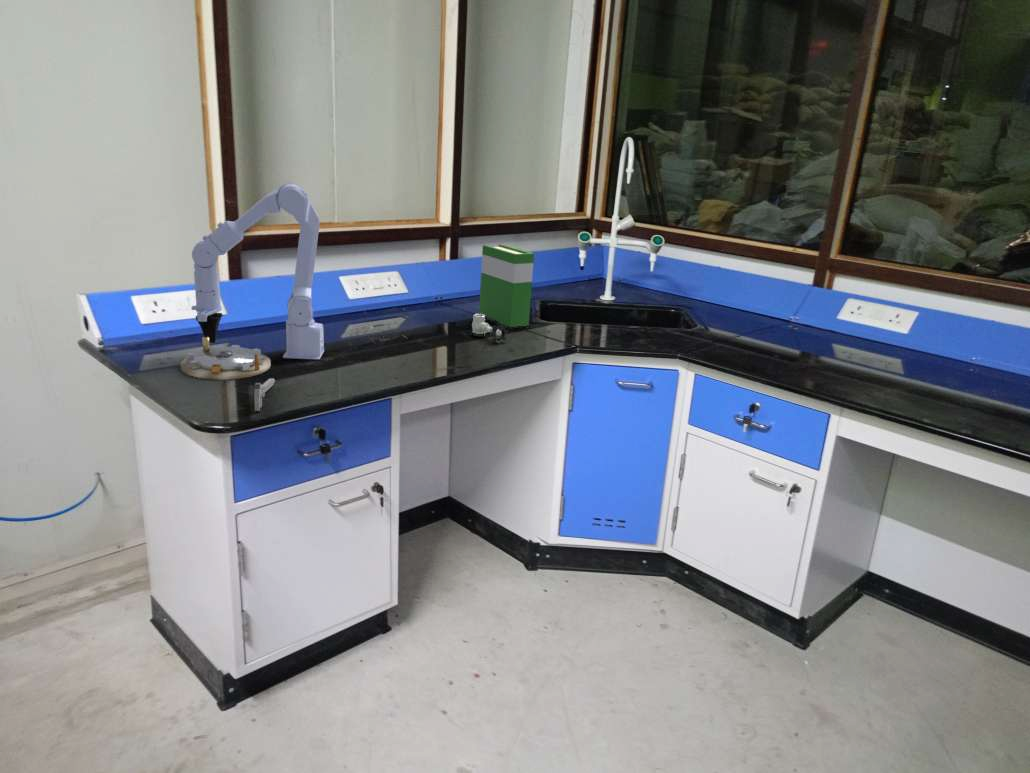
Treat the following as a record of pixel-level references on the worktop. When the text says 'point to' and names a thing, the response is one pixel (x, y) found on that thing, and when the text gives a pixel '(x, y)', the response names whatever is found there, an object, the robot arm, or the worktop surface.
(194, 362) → the sprocket
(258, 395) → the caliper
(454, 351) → the worktop surface
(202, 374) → the mounting board
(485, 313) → the hardback book
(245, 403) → the worktop surface
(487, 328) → the valve
